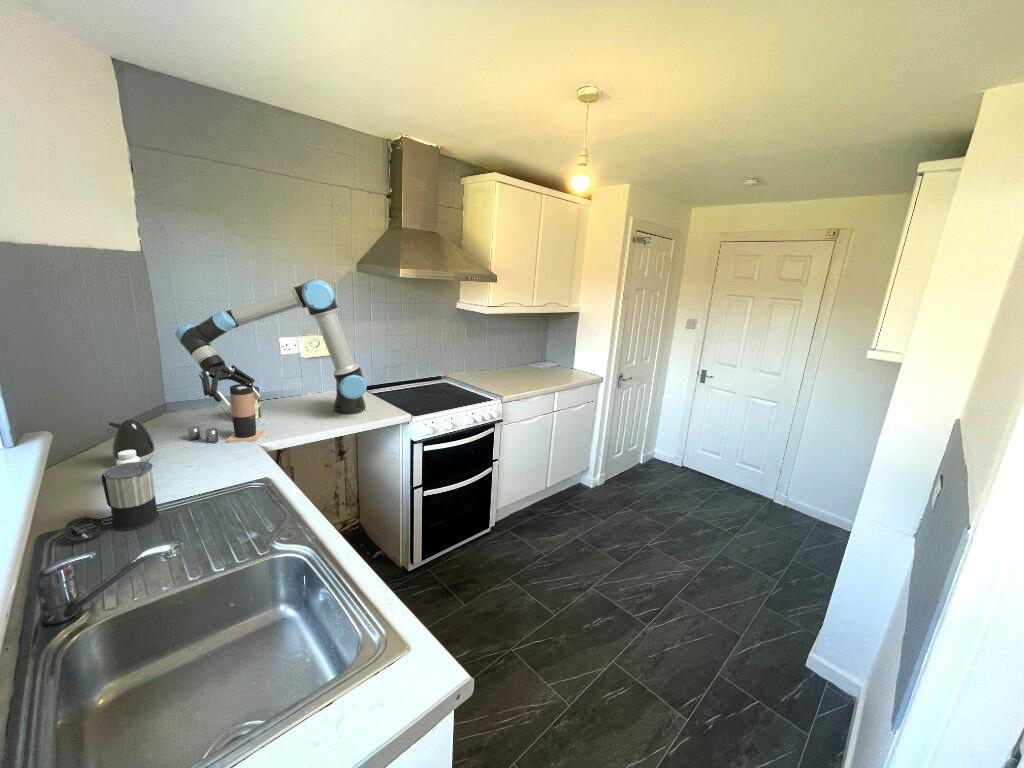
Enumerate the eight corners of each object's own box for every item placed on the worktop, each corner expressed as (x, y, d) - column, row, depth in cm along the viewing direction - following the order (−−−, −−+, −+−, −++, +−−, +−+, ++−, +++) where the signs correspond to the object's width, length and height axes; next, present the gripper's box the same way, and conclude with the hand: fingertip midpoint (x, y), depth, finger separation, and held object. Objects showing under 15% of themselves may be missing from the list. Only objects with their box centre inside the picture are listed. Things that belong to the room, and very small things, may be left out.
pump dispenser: (123, 457, 140) (116, 415, 136) (161, 455, 144) (155, 413, 140) (107, 470, 131) (99, 425, 127) (148, 467, 134) (141, 423, 131)
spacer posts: (254, 424, 177) (253, 413, 176) (236, 442, 158) (235, 430, 157) (207, 425, 172) (205, 414, 171) (183, 444, 153) (181, 431, 152)
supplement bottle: (148, 478, 128) (143, 449, 126) (130, 486, 123) (125, 456, 120) (133, 476, 129) (128, 447, 126) (114, 484, 123) (109, 454, 121)
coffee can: (245, 414, 188) (242, 385, 185) (266, 417, 187) (264, 387, 184) (228, 421, 178) (225, 390, 175) (250, 424, 177) (247, 392, 174)
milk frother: (169, 513, 112) (162, 462, 108) (113, 549, 96) (102, 492, 93) (117, 508, 112) (108, 458, 108) (52, 544, 96) (40, 487, 93)
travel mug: (250, 430, 169) (246, 382, 164) (260, 434, 165) (257, 386, 160) (230, 435, 162) (225, 386, 157) (240, 440, 158) (235, 390, 154)
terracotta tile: (263, 432, 170) (263, 430, 169) (255, 441, 160) (255, 439, 160) (236, 433, 167) (235, 430, 167) (226, 442, 158) (226, 440, 157)
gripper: (232, 360, 173) (264, 400, 173) (171, 371, 149) (208, 417, 149) (242, 349, 170) (274, 389, 170) (180, 359, 147) (218, 405, 147)
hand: (243, 402), depth 160 cm, fingers open, 13 cm apart
